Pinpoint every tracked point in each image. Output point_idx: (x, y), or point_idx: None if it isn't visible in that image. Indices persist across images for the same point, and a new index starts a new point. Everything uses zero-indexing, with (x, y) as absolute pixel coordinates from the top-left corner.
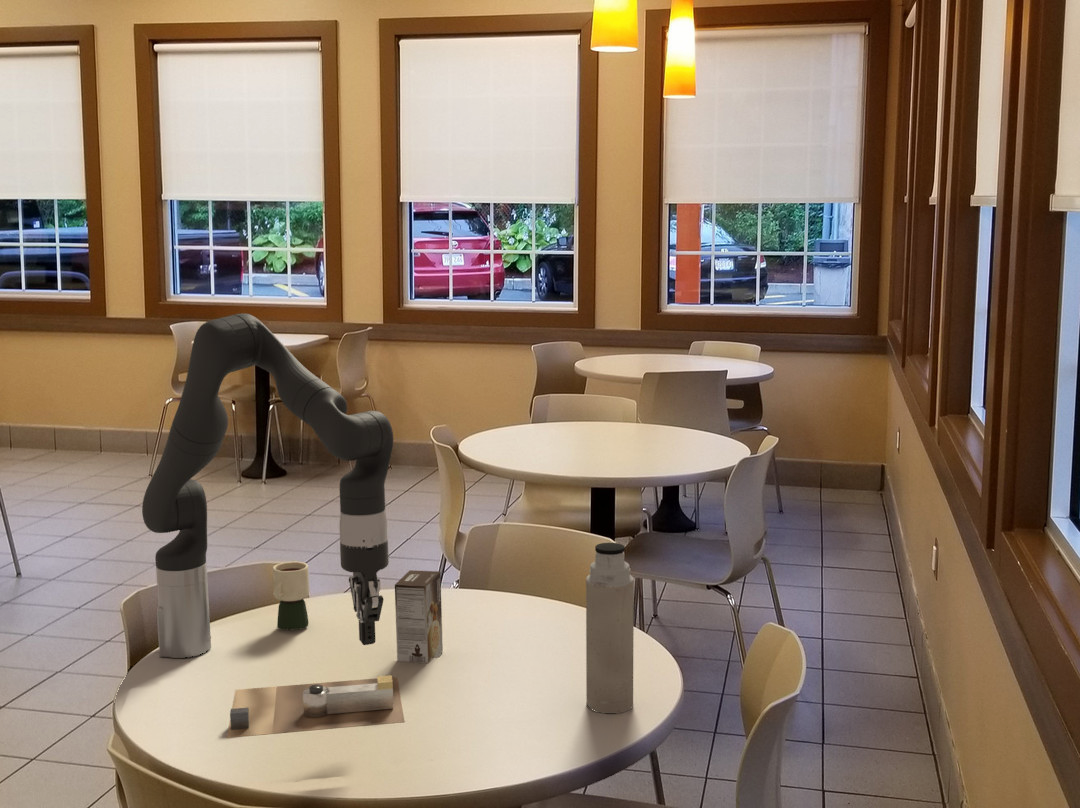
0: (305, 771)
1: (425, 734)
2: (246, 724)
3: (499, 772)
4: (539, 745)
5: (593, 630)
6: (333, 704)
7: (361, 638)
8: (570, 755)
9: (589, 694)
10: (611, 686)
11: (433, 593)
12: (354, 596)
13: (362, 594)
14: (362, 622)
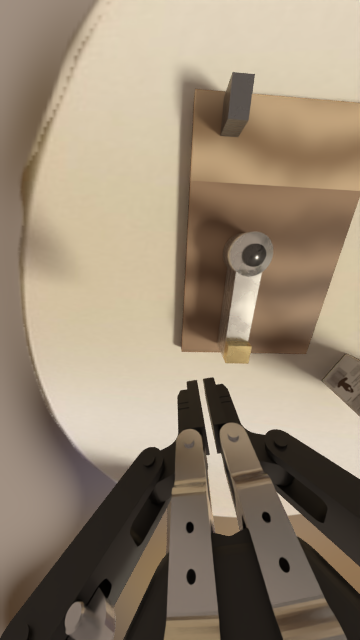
0: (90, 231)
1: (163, 364)
2: (222, 127)
3: (76, 409)
4: (123, 438)
5: None
6: (230, 277)
7: (191, 389)
8: (102, 453)
9: None
10: (167, 510)
11: None
12: (253, 537)
13: (148, 636)
14: (178, 437)
